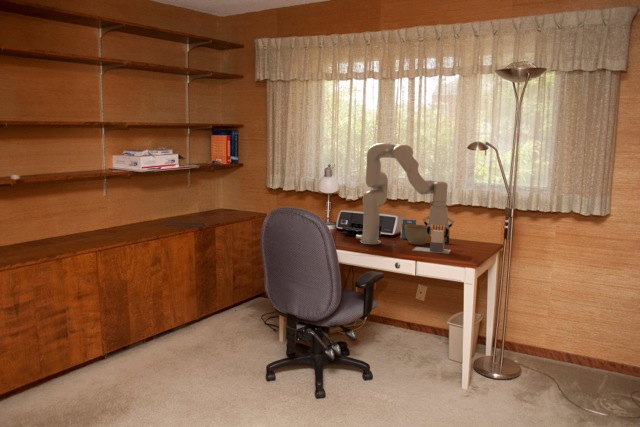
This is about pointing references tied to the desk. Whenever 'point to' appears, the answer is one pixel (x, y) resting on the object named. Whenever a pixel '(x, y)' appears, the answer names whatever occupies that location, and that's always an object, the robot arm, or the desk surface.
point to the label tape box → (404, 227)
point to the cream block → (437, 236)
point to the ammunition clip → (444, 233)
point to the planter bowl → (417, 234)
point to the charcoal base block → (437, 246)
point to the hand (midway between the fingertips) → (437, 234)
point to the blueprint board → (429, 250)
